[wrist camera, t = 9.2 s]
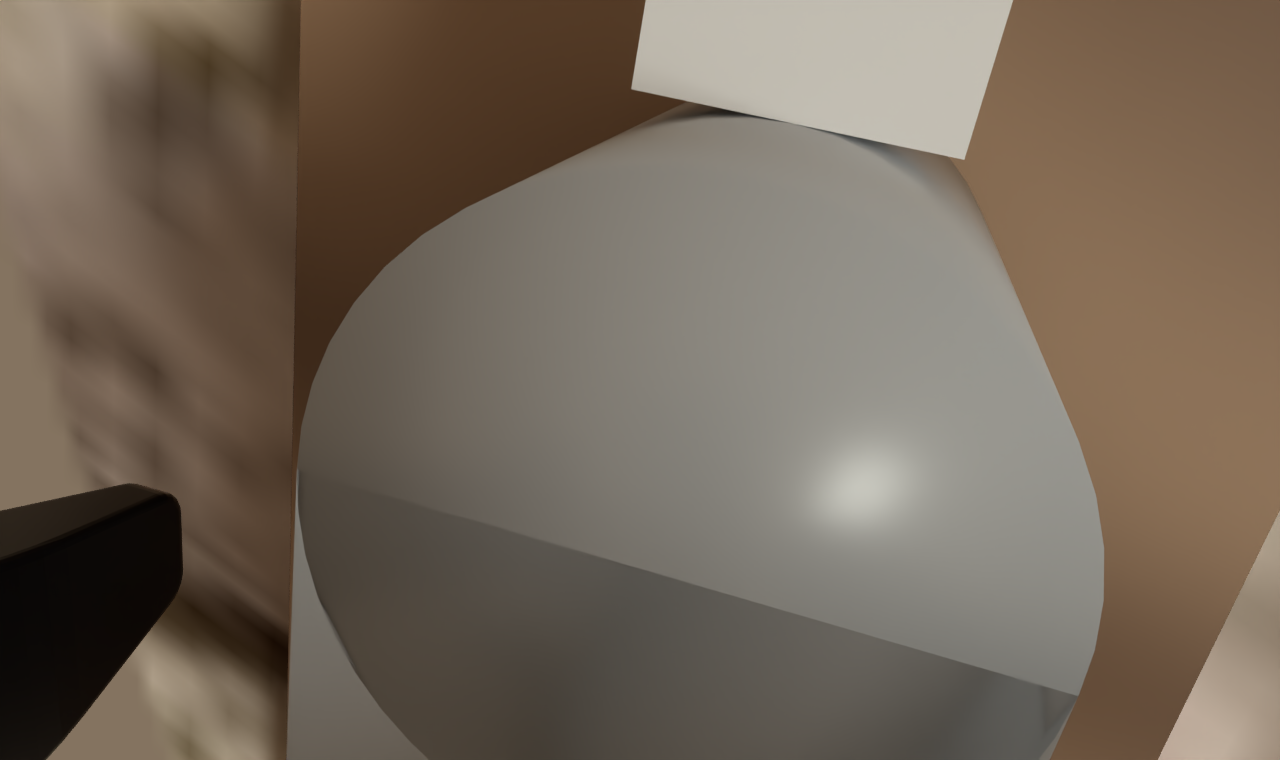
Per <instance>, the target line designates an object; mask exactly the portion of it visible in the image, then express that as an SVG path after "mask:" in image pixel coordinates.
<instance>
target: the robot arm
mask: <svg viewBox="0 0 1280 760" xmlns="http://www.w3.org/2000/svg"><path fill="white" fill-rule="evenodd" d="M182 575H183V556H182V526H181V508H180V505H179V503H178V501H177V499H176V498H175V497H174V496H173V495H171V494H170V493H167V492H163V491H160V490H157V489H153V488H150V487H146V486H143V485H139V484H130V483H129V484H122V485H118V486H113V487H109V488H104V489H99V490H95V491H90V492H86V493H81V494H76V495H72V496H67V497H62V498H58V499H53V500H49V501H44V502H40V503H35V504H30V505H26V506H21V507H16V508H12V509H7V510H2V511H0V760H46V759H47V758H48V757H49V756H50V755H51V754H52V753H53V751H54V750H55V749H56V748H57V747H58V746H59V745H60V744H61V743H62V741H63V740H64V739H65V738H66V737H67V735H68V734H69V733H70V732H71V730H72V729H73V728H74V727H75V726H76V724H77V723H78V722H79V721H80V719H81V718H82V717H83V716H84V714H85V713H86V712H87V711H88V709H89V708H90V707H91V706H92V704H93V703H94V702H95V700H96V699H97V698H98V697H99V695H100V694H101V693H102V691H103V690H104V689H105V687H106V686H107V685H108V683H109V682H110V681H111V680H112V678H113V677H114V676H115V674H116V673H117V672H118V671H119V669H120V668H121V667H122V666H123V664H124V663H125V662H126V660H127V659H128V658H129V657H130V655H131V654H132V653H133V651H134V650H135V649H136V647H137V646H138V645H139V644H140V642H141V641H142V640H143V638H144V637H145V636H146V635H147V633H148V632H149V631H150V629H151V628H152V627H153V626H154V624H155V623H156V622H157V620H158V619H159V618H160V617H161V615H162V614H163V613H164V611H165V610H166V609H167V607H168V606H169V605H170V604H171V602H172V601H173V599H174V598H175V596H176V594H177V592H178V590H179V587H180V584H181V580H182Z"/></svg>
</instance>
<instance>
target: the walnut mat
mask: <svg viewBox="0 0 1280 760" xmlns="http://www.w3.org/2000/svg"><path fill="white" fill-rule="evenodd" d="M645 2H646V0H301V19H300V71H299V124H298V176H297V228H296V280H295V332H294V385H293V437H292V489H291V541H290V593H289V645H288V697H287V730H288V702H289V674H290V646H291V619H292V591H293V563H294V535H295V507H296V479H297V463H298V454H299V444H300V435H301V426H302V422H303V418H304V414H305V410H306V406H307V402H308V398H309V394H310V390H311V386H312V383H313V380H314V378H315V376H316V373H317V371H318V369H319V366H320V364H321V361H322V359H323V357H324V354H325V352H326V350H327V347H328V345H329V343H330V341H331V339H332V338H333V336H334V334H335V333H336V331H337V329H338V328H339V326H340V325H341V323H342V321H343V320H344V318H345V316H346V315H347V313H348V312H349V310H350V308H351V307H352V305H353V303H354V302H355V301H356V300H357V299H358V297H359V296H360V295H361V294H362V293H363V292H364V290H365V289H366V288H367V287H368V286H369V285H370V283H371V282H372V281H373V280H374V279H375V278H376V276H377V275H378V274H379V273H380V272H381V271H382V269H383V268H384V267H385V266H386V265H388V264H389V263H390V262H391V261H392V260H393V259H395V258H396V257H397V256H398V255H399V254H400V253H402V252H403V251H404V250H405V249H406V248H407V247H409V246H410V245H411V244H412V243H413V242H414V241H416V240H417V239H418V238H419V237H420V236H421V235H423V234H424V233H426V232H428V231H429V230H431V229H432V228H434V227H436V226H437V225H439V224H440V223H442V222H444V221H445V220H447V219H448V218H450V217H452V216H453V215H455V214H457V213H458V212H460V211H461V210H463V209H465V208H466V207H468V206H471V205H473V204H475V203H477V202H479V201H481V200H483V199H485V198H487V197H489V196H491V195H493V194H496V193H498V192H500V191H502V190H504V189H506V188H508V187H510V186H512V185H514V184H516V183H518V182H521V181H523V180H525V179H527V178H529V177H531V176H533V175H535V174H537V173H539V172H541V171H543V170H545V169H548V168H550V167H552V166H554V165H556V164H558V163H560V162H562V161H564V160H566V159H568V158H570V157H573V156H575V155H577V154H579V153H581V152H583V151H585V150H587V149H589V148H591V147H593V146H595V145H598V144H600V143H602V142H604V141H606V140H608V139H610V138H612V137H614V136H616V135H618V134H620V133H623V132H625V131H627V130H629V129H631V128H633V127H635V126H637V125H639V124H641V123H643V122H645V121H647V120H650V119H652V118H654V117H656V116H658V115H660V114H662V113H664V112H666V111H668V110H670V109H672V108H675V107H677V106H679V105H681V104H683V103H685V102H687V101H684V100H680V99H675V98H670V97H666V96H661V95H656V94H651V93H647V92H642V91H637V90H633V89H631V87H632V81H633V75H634V69H635V63H636V57H637V50H638V44H639V38H640V32H641V26H642V20H643V14H644V8H645ZM949 158H950V159H951V160H952V162H953V163H954V165H955V166H956V167H957V169H958V170H959V172H960V173H961V175H962V176H963V178H964V179H965V181H966V182H967V183H968V185H969V187H970V189H971V191H972V193H973V195H974V197H975V199H976V201H977V203H978V205H979V207H980V209H981V212H982V214H983V216H984V219H985V221H986V224H987V226H988V228H989V231H990V233H991V235H992V238H993V240H994V242H995V245H996V247H997V249H998V252H999V254H1000V257H1001V259H1002V261H1003V264H1004V266H1005V268H1006V271H1007V273H1008V275H1009V278H1010V280H1011V283H1012V285H1013V287H1014V290H1015V292H1016V294H1017V297H1018V299H1019V301H1020V304H1021V306H1022V308H1023V311H1024V313H1025V316H1026V318H1027V320H1028V323H1029V325H1030V327H1031V330H1032V332H1033V334H1034V337H1035V339H1036V342H1037V344H1038V346H1039V349H1040V351H1041V353H1042V356H1043V358H1044V360H1045V363H1046V365H1047V367H1048V370H1049V372H1050V375H1051V377H1052V379H1053V382H1054V384H1055V386H1056V389H1057V391H1058V393H1059V396H1060V398H1061V401H1062V403H1063V405H1064V408H1065V410H1066V412H1067V415H1068V417H1069V419H1070V422H1071V424H1072V426H1073V429H1074V431H1075V434H1076V436H1077V438H1078V441H1079V443H1080V447H1081V450H1082V453H1083V456H1084V459H1085V462H1086V465H1087V468H1088V472H1089V475H1090V478H1091V481H1092V484H1093V487H1094V490H1095V494H1096V498H1097V504H1098V511H1099V518H1100V524H1101V531H1102V537H1103V544H1104V602H1103V607H1102V613H1101V619H1100V624H1099V630H1098V635H1097V641H1096V646H1095V651H1094V654H1093V657H1092V660H1091V662H1090V665H1089V668H1088V671H1087V674H1086V676H1085V679H1084V682H1083V685H1082V688H1081V690H1080V693H1079V696H1078V698H1077V700H1076V703H1075V705H1074V707H1073V709H1072V712H1071V714H1070V716H1069V718H1068V720H1067V723H1066V725H1065V727H1064V729H1063V731H1062V734H1061V736H1060V738H1059V740H1058V742H1057V745H1056V747H1055V749H1054V751H1053V753H1052V756H1051V758H1050V760H1158V758H1159V756H1160V754H1161V752H1162V749H1163V747H1164V745H1165V743H1166V741H1167V739H1168V737H1169V735H1170V733H1171V731H1172V729H1173V727H1174V725H1175V723H1176V721H1177V719H1178V717H1179V715H1180V713H1181V711H1182V709H1183V707H1184V705H1185V703H1186V700H1187V698H1188V696H1189V694H1190V692H1191V690H1192V688H1193V686H1194V684H1195V682H1196V680H1197V678H1198V676H1199V674H1200V672H1201V670H1202V668H1203V666H1204V664H1205V662H1206V660H1207V658H1208V656H1209V654H1210V651H1211V649H1212V647H1213V645H1214V643H1215V641H1216V639H1217V637H1218V635H1219V633H1220V631H1221V629H1222V627H1223V625H1224V623H1225V621H1226V619H1227V617H1228V615H1229V613H1230V611H1231V609H1232V607H1233V605H1234V602H1235V600H1236V598H1237V596H1238V594H1239V592H1240V590H1241V588H1242V586H1243V584H1244V582H1245V580H1246V578H1247V576H1248V574H1249V572H1250V570H1251V568H1252V566H1253V564H1254V562H1255V560H1256V558H1257V556H1258V553H1259V551H1260V549H1261V547H1262V545H1263V543H1264V541H1265V539H1266V537H1267V535H1268V533H1269V531H1270V529H1271V527H1272V525H1273V523H1274V521H1275V519H1276V517H1277V515H1278V513H1279V511H1280V0H1013V2H1012V5H1011V9H1010V12H1009V15H1008V19H1007V22H1006V25H1005V28H1004V32H1003V35H1002V38H1001V41H1000V45H999V48H998V51H997V55H996V58H995V61H994V64H993V68H992V71H991V74H990V77H989V81H988V84H987V87H986V91H985V94H984V97H983V100H982V104H981V107H980V110H979V113H978V117H977V120H976V123H975V126H974V130H973V133H972V136H971V140H970V143H969V146H968V149H967V153H966V156H965V159H964V160H963V159H958V158H953V157H949ZM286 758H287V750H286Z"/></svg>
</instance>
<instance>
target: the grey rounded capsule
mask: <svg viewBox="0 0 1280 760" xmlns="http://www.w3.org/2000/svg"><path fill="white" fill-rule="evenodd" d="M1012 2H1013V0H646V2H645V8H644V14H643V20H642V26H641V32H640V38H639V44H638V50H637V57H636V63H635V69H634V75H633V81H632V87H631V89H633V90H637V91H642V92H647V93H651V94H656V95H661V96H666V97H670V98H675V99H680V100H684V101H687V102H685V103H683V104H681V105H679V106H677V107H675V108H672V109H670V110H668V111H666V112H664V113H662V114H660V115H658V116H656V117H654V118H652V119H650V120H647V121H645V122H643V123H641V124H639V125H637V126H635V127H633V128H631V129H629V130H627V131H625V132H623V133H620V134H618V135H616V136H614V137H612V138H610V139H608V140H606V141H604V142H602V143H600V144H598V145H595V146H593V147H591V148H589V149H587V150H585V151H583V152H581V153H579V154H577V155H575V156H573V157H570V158H568V159H566V160H564V161H562V162H560V163H558V164H556V165H554V166H552V167H550V168H548V169H545V170H543V171H541V172H539V173H537V174H535V175H533V176H531V177H529V178H527V179H525V180H523V181H521V182H518V183H516V184H514V185H512V186H510V187H508V188H506V189H504V190H502V191H500V192H498V193H496V194H493V195H491V196H489V197H487V198H485V199H483V200H481V201H479V202H477V203H475V204H473V205H471V206H468V207H466V208H465V209H463V210H461V211H460V212H458V213H457V214H455V215H453V216H452V217H450V218H448V219H447V220H445V221H444V222H442V223H440V224H439V225H437V226H436V227H434V228H432V229H431V230H429V231H428V232H426V233H424V234H423V235H421V236H420V237H419V238H418V239H417V240H416V241H414V242H413V243H412V244H411V245H410V246H409V247H407V248H406V249H405V250H404V251H403V252H402V253H400V254H399V255H398V256H397V257H396V258H395V259H393V260H392V261H391V262H390V263H389V264H388V265H386V266H385V267H384V268H383V269H382V271H381V272H380V273H379V274H378V275H377V276H376V278H375V279H374V280H373V281H372V282H371V283H370V285H369V286H368V287H367V288H366V289H365V290H364V292H363V293H362V294H361V295H360V296H359V297H358V299H357V300H356V301H355V302H354V303H353V305H352V307H351V308H350V310H349V312H348V313H347V315H346V316H345V318H344V320H343V321H342V323H341V325H340V326H339V328H338V329H337V331H336V333H335V334H334V336H333V338H332V339H331V341H330V343H329V345H328V347H327V350H326V352H325V354H324V357H323V359H322V361H321V364H320V366H319V369H318V371H317V373H316V376H315V378H314V380H313V383H312V386H311V390H310V394H309V398H308V402H307V406H306V410H305V414H304V418H303V422H302V426H301V435H300V444H299V454H298V463H297V479H296V507H295V535H294V563H293V591H292V619H291V646H290V674H289V702H288V730H287V758H286V760H1050V758H1051V756H1052V753H1053V751H1054V749H1055V747H1056V745H1057V742H1058V740H1059V738H1060V736H1061V734H1062V731H1063V729H1064V727H1065V725H1066V723H1067V720H1068V718H1069V716H1070V714H1071V712H1072V709H1073V707H1074V705H1075V703H1076V700H1077V698H1078V696H1079V693H1080V690H1081V688H1082V685H1083V682H1084V679H1085V676H1086V674H1087V671H1088V668H1089V665H1090V662H1091V660H1092V657H1093V654H1094V651H1095V646H1096V641H1097V635H1098V630H1099V624H1100V619H1101V613H1102V607H1103V602H1104V544H1103V537H1102V531H1101V524H1100V518H1099V511H1098V504H1097V498H1096V494H1095V490H1094V487H1093V484H1092V481H1091V478H1090V475H1089V472H1088V468H1087V465H1086V462H1085V459H1084V456H1083V453H1082V450H1081V447H1080V443H1079V441H1078V438H1077V436H1076V434H1075V431H1074V429H1073V426H1072V424H1071V422H1070V419H1069V417H1068V415H1067V412H1066V410H1065V408H1064V405H1063V403H1062V401H1061V398H1060V396H1059V393H1058V391H1057V389H1056V386H1055V384H1054V382H1053V379H1052V377H1051V375H1050V372H1049V370H1048V367H1047V365H1046V363H1045V360H1044V358H1043V356H1042V353H1041V351H1040V349H1039V346H1038V344H1037V342H1036V339H1035V337H1034V334H1033V332H1032V330H1031V327H1030V325H1029V323H1028V320H1027V318H1026V316H1025V313H1024V311H1023V308H1022V306H1021V304H1020V301H1019V299H1018V297H1017V294H1016V292H1015V290H1014V287H1013V285H1012V283H1011V280H1010V278H1009V275H1008V273H1007V271H1006V268H1005V266H1004V264H1003V261H1002V259H1001V257H1000V254H999V252H998V249H997V247H996V245H995V242H994V240H993V238H992V235H991V233H990V231H989V228H988V226H987V224H986V221H985V219H984V216H983V214H982V212H981V209H980V207H979V205H978V203H977V201H976V199H975V197H974V195H973V193H972V191H971V189H970V187H969V185H968V183H967V182H966V181H965V179H964V178H963V176H962V175H961V173H960V172H959V170H958V169H957V167H956V166H955V165H954V163H953V162H952V160H951V159H950V158H949V157H953V158H958V159H963V160H964V159H965V156H966V153H967V149H968V146H969V143H970V140H971V136H972V133H973V130H974V126H975V123H976V120H977V117H978V113H979V110H980V107H981V104H982V100H983V97H984V94H985V91H986V87H987V84H988V81H989V77H990V74H991V71H992V68H993V64H994V61H995V58H996V55H997V51H998V48H999V45H1000V41H1001V38H1002V35H1003V32H1004V28H1005V25H1006V22H1007V19H1008V15H1009V12H1010V9H1011V5H1012Z"/></svg>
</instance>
